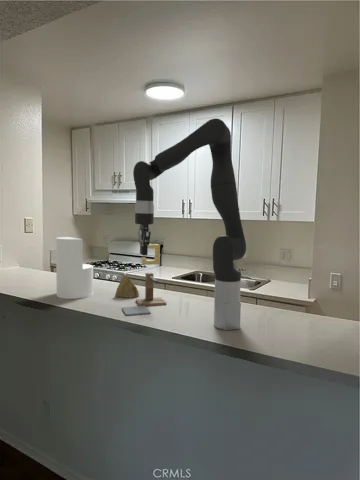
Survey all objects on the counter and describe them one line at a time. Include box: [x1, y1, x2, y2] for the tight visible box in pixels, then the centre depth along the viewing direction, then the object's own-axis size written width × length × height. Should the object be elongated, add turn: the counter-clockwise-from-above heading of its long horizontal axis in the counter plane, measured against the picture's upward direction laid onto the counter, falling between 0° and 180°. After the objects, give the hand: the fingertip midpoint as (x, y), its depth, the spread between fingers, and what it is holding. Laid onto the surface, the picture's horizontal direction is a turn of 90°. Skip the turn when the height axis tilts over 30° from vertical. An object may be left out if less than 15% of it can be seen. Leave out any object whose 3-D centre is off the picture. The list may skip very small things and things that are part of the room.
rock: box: [114, 275, 140, 298], centre depth 160 cm, size 11×9×10 cm
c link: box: [140, 243, 161, 266], centre depth 135 cm, size 3×7×8 cm, turn 108°
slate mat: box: [121, 305, 152, 317], centre depth 136 cm, size 10×10×1 cm
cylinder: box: [55, 236, 94, 300], centre depth 162 cm, size 17×17×28 cm
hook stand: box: [135, 272, 167, 307], centre depth 146 cm, size 14×12×13 cm
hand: (143, 254), depth 135 cm, fingers closed on c link, 3 cm apart
